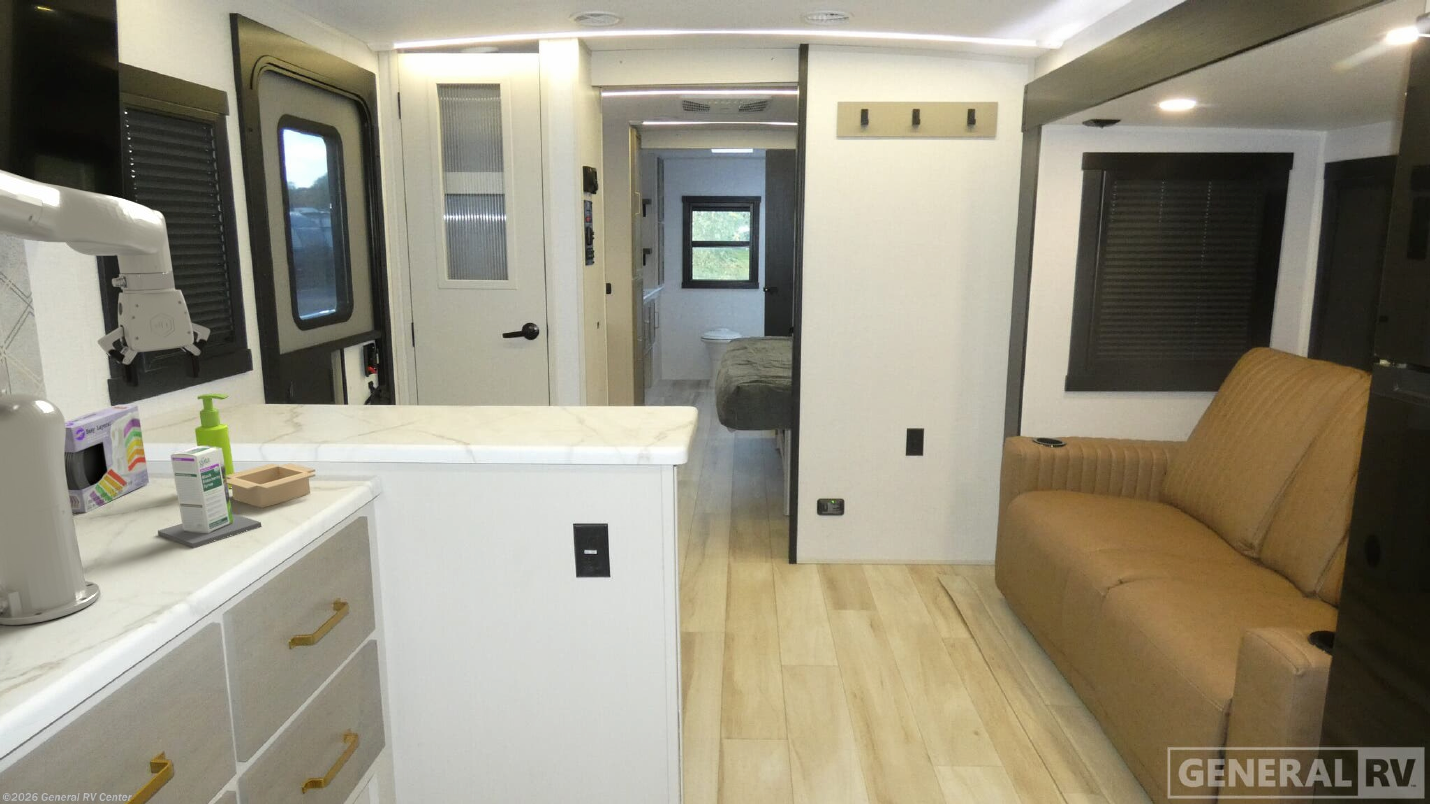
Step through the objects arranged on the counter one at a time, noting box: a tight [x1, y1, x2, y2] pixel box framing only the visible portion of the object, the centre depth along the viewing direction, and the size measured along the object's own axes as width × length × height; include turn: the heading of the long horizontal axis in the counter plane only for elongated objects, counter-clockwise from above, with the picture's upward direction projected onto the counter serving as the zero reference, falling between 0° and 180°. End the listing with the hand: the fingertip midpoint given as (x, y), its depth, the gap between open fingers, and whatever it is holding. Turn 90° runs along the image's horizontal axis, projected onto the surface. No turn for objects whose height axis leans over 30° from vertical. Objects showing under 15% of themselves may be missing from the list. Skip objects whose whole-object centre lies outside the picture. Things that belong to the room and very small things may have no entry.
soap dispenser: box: [194, 393, 235, 490], centre depth 177 cm, size 6×7×20 cm
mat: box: [157, 512, 262, 549], centre depth 154 cm, size 12×12×1 cm
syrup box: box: [170, 445, 233, 533], centre depth 152 cm, size 6×6×14 cm
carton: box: [226, 462, 316, 509], centre depth 173 cm, size 14×15×4 cm
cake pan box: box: [64, 404, 150, 514], centre depth 171 cm, size 19×5×18 cm, turn 177°
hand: (163, 381), depth 149 cm, fingers open, 9 cm apart
